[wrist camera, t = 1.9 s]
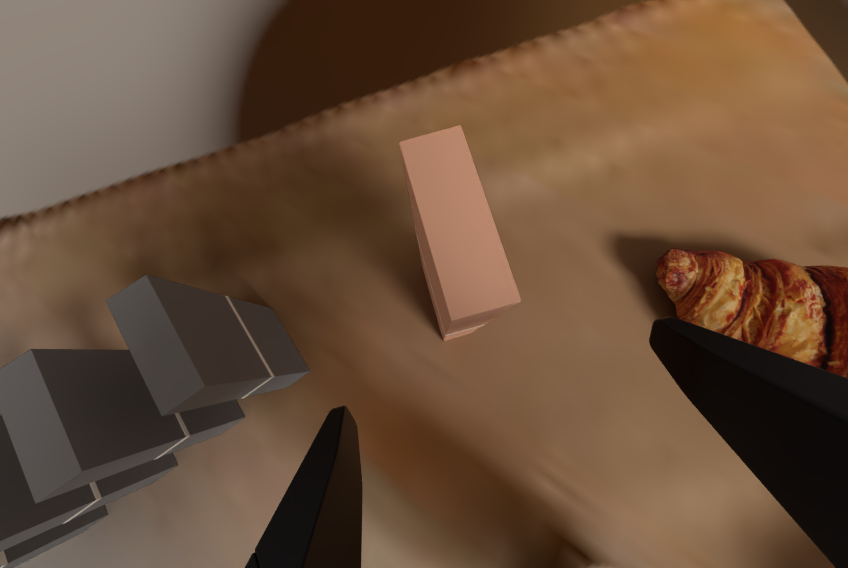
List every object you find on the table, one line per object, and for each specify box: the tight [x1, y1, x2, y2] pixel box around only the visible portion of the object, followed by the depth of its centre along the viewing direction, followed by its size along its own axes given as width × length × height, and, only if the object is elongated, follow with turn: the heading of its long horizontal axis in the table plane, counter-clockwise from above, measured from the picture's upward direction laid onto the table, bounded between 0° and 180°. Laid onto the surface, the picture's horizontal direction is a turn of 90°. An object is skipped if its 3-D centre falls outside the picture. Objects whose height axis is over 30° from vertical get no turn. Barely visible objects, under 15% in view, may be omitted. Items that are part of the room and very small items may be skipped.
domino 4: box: [399, 125, 521, 341], centre depth 15 cm, size 5×2×14 cm, turn 16°
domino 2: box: [0, 415, 178, 552], centre depth 16 cm, size 5×2×10 cm, turn 35°
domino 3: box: [106, 275, 310, 416], centre depth 17 cm, size 5×2×10 cm, turn 35°
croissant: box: [656, 248, 848, 378], centre depth 18 cm, size 21×10×8 cm, turn 55°
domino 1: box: [0, 349, 245, 504], centre depth 17 cm, size 5×2×10 cm, turn 35°
